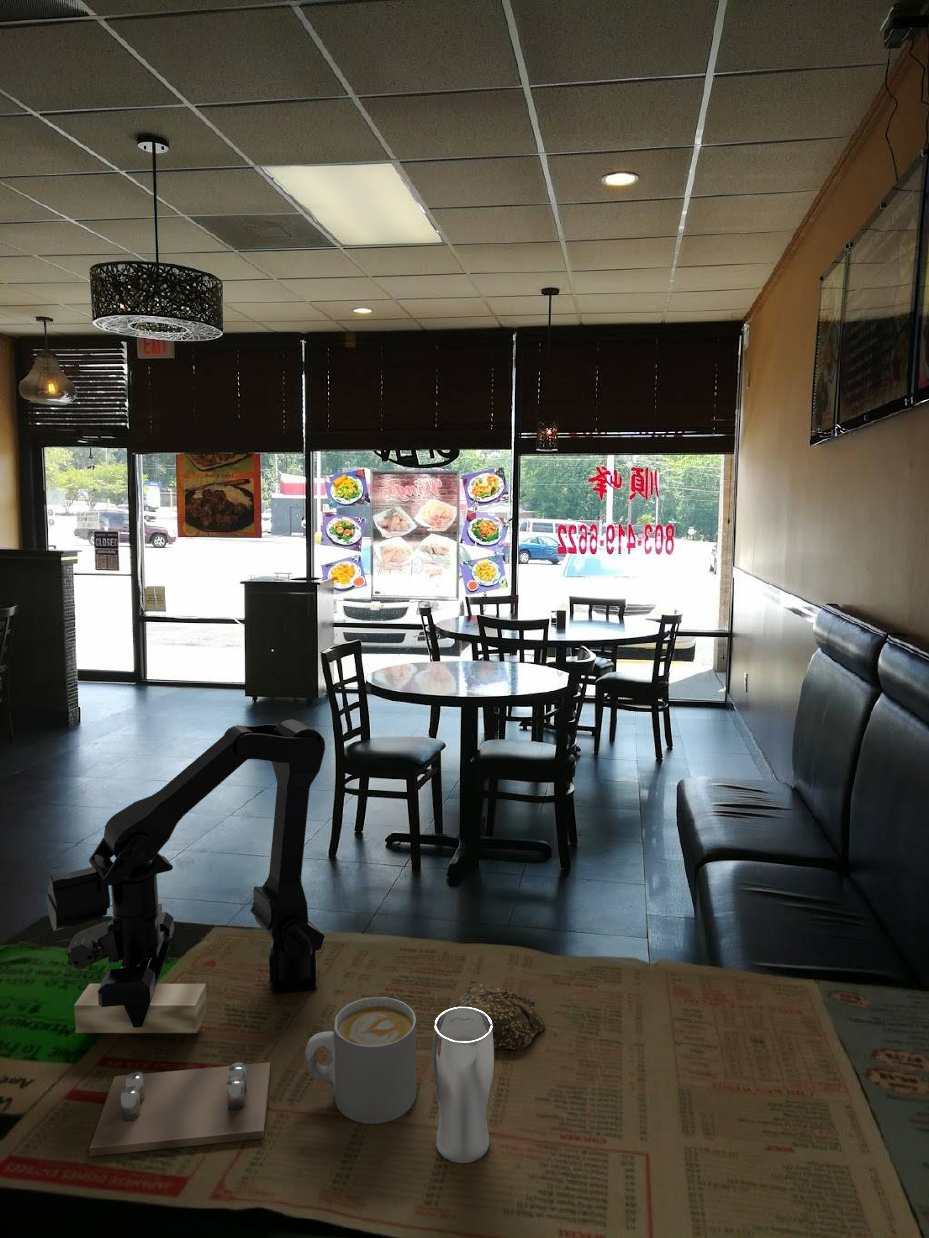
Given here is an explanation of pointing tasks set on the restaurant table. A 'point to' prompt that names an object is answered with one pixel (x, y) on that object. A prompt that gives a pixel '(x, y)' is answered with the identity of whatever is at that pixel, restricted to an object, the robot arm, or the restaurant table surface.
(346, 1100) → the coffee mug
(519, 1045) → the bread roll
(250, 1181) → the restaurant table surface
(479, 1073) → the beer glass
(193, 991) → the pine board
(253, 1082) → the peg holder
